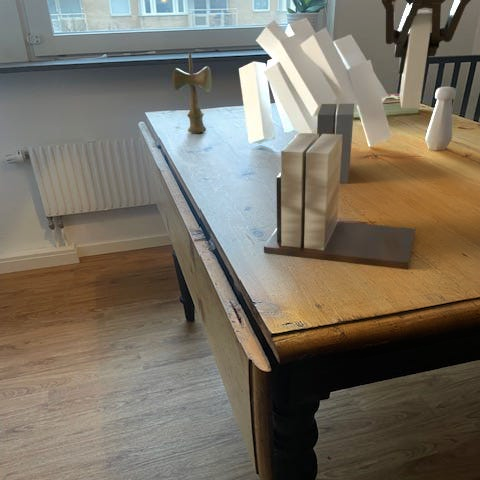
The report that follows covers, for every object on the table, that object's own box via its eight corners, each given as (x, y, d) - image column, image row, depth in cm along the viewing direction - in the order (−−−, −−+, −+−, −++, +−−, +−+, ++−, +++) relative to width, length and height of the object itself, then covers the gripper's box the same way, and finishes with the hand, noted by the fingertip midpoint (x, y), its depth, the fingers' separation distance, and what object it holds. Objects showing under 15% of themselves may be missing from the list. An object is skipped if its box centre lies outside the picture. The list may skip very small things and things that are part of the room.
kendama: (211, 135, 138) (205, 53, 127) (177, 135, 140) (168, 54, 129) (216, 129, 143) (210, 50, 132) (183, 129, 144) (175, 51, 133)
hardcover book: (338, 111, 155) (339, 96, 152) (405, 106, 155) (406, 91, 153) (348, 119, 145) (349, 104, 142) (419, 114, 145) (421, 98, 143)
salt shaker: (453, 146, 117) (464, 85, 110) (446, 152, 113) (457, 90, 106) (427, 143, 120) (436, 84, 113) (420, 149, 116) (429, 89, 109)
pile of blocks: (387, 148, 137) (353, 16, 132) (410, 129, 108) (368, -42, 103) (266, 189, 143) (229, 64, 138) (256, 181, 114) (209, 22, 109)
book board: (414, 234, 79) (429, 135, 70) (407, 269, 69) (424, 160, 61) (285, 222, 85) (285, 130, 77) (263, 252, 76) (260, 152, 68)
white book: (415, 97, 94) (427, 9, 86) (419, 108, 86) (433, 12, 78) (399, 97, 95) (409, 10, 87) (401, 108, 87) (413, 13, 79)
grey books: (349, 168, 108) (354, 103, 100) (348, 183, 100) (353, 114, 92) (319, 167, 109) (321, 103, 102) (315, 183, 101) (317, 114, 94)
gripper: (373, -25, 69) (364, 86, 91) (500, -33, 65) (458, 84, 88) (377, -71, 70) (367, 49, 93) (501, -81, 67) (460, 46, 89)
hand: (412, 66), depth 90 cm, fingers closed on white book, 3 cm apart
